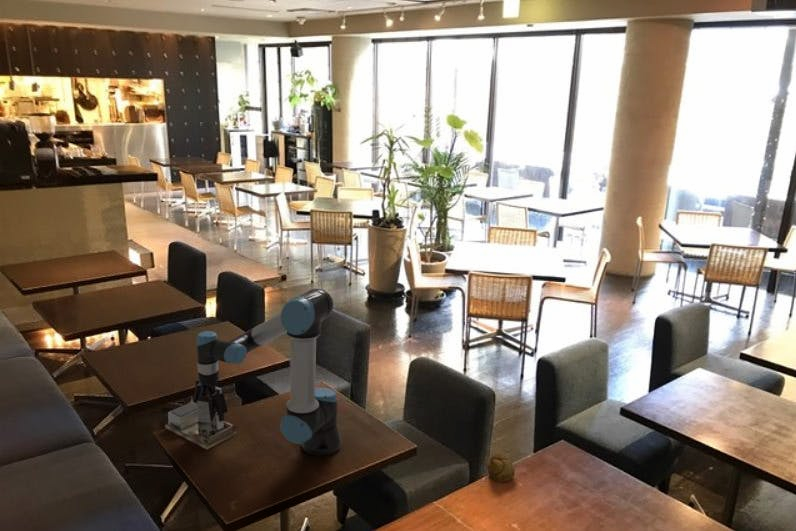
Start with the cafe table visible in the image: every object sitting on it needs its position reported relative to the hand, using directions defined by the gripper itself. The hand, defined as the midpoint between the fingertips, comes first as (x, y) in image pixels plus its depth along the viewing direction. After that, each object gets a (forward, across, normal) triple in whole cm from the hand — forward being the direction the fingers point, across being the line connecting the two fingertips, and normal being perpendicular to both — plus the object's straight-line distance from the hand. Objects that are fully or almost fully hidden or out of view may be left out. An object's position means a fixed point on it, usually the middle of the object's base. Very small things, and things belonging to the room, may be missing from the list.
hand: (211, 423), depth 239 cm
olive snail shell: (+6, -102, -48) cm, 112 cm away
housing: (+4, +15, 0) cm, 16 cm away
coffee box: (+5, 0, 0) cm, 5 cm away
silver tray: (+6, +7, 0) cm, 9 cm away
